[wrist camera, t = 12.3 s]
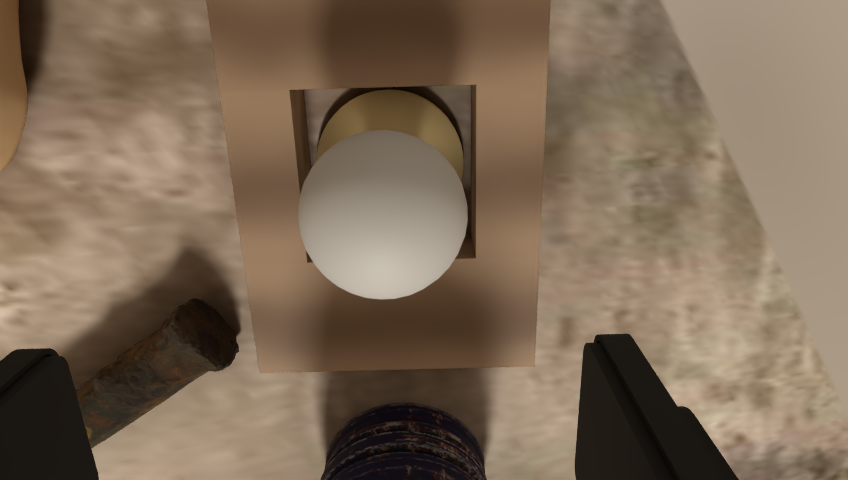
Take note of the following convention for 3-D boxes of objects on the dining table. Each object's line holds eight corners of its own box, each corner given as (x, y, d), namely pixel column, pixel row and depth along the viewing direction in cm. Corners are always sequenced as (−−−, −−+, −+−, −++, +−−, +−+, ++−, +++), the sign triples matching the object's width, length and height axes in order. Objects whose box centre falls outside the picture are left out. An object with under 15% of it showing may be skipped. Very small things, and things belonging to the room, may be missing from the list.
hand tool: (202, 283, 32) (167, 324, 28) (248, 338, 33) (222, 385, 29) (-39, 439, 36) (-103, 498, 32) (11, 484, 37) (-44, 546, 33)
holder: (221, -56, 26) (197, -65, 23) (539, -66, 26) (553, -76, 23) (273, 343, 33) (259, 373, 30) (525, 336, 33) (534, 366, 30)
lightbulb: (408, 246, 31) (401, 361, 20) (307, 178, 29) (245, 264, 19) (481, 151, 29) (513, 224, 19) (377, 75, 28) (350, 108, 17)
